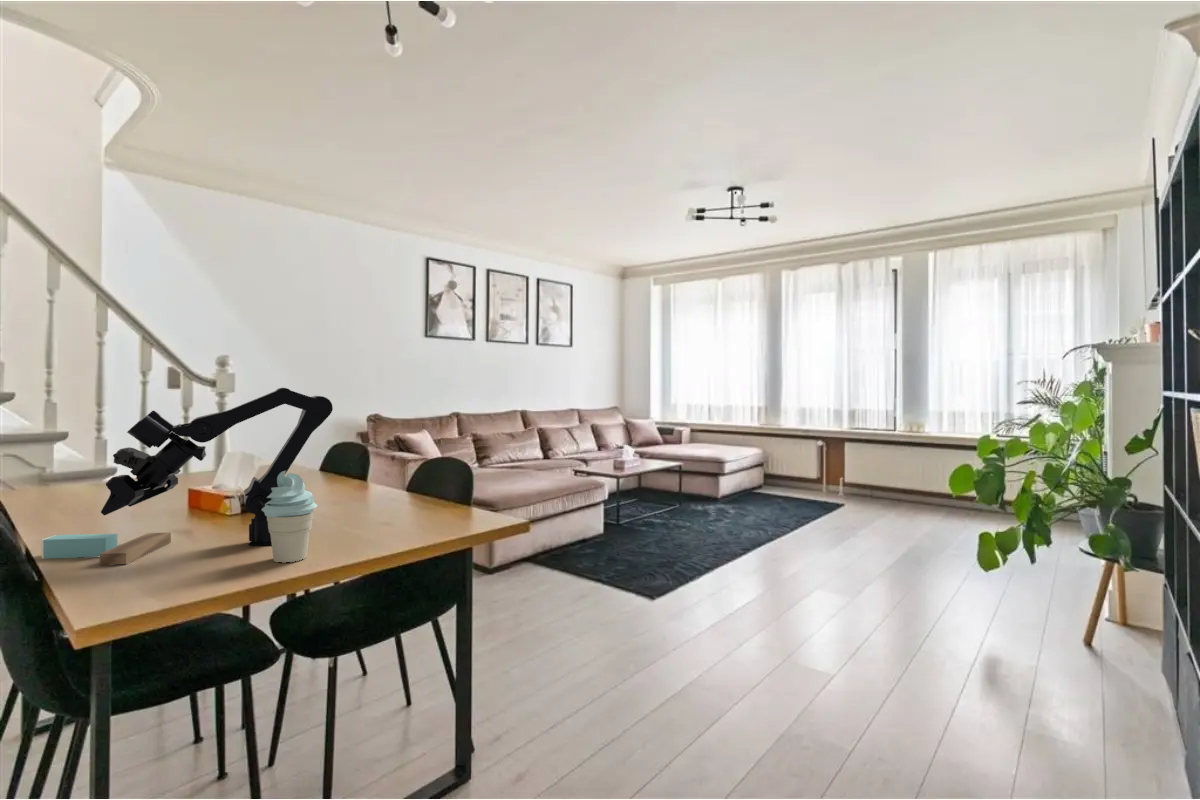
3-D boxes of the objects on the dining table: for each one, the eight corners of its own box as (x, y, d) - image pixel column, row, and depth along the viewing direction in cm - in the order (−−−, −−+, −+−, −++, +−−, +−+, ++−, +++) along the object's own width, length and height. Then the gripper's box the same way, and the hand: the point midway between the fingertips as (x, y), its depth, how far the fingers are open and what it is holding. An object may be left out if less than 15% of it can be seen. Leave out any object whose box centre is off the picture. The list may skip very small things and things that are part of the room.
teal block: (117, 533, 139) (55, 535, 137) (105, 538, 135) (41, 539, 133) (117, 551, 139) (55, 553, 137) (105, 556, 135) (41, 558, 133)
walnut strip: (170, 542, 147) (170, 532, 147) (126, 564, 130) (125, 553, 130) (148, 543, 147) (148, 532, 146) (99, 565, 129) (99, 553, 129)
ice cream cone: (318, 561, 134) (318, 471, 134) (261, 568, 129) (261, 474, 128) (316, 550, 143) (316, 466, 143) (262, 555, 138) (262, 468, 137)
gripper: (163, 432, 147) (113, 478, 145) (115, 439, 128) (57, 492, 127) (199, 464, 148) (150, 510, 147) (157, 476, 130) (99, 528, 128)
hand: (115, 509), depth 137 cm, fingers open, 9 cm apart
